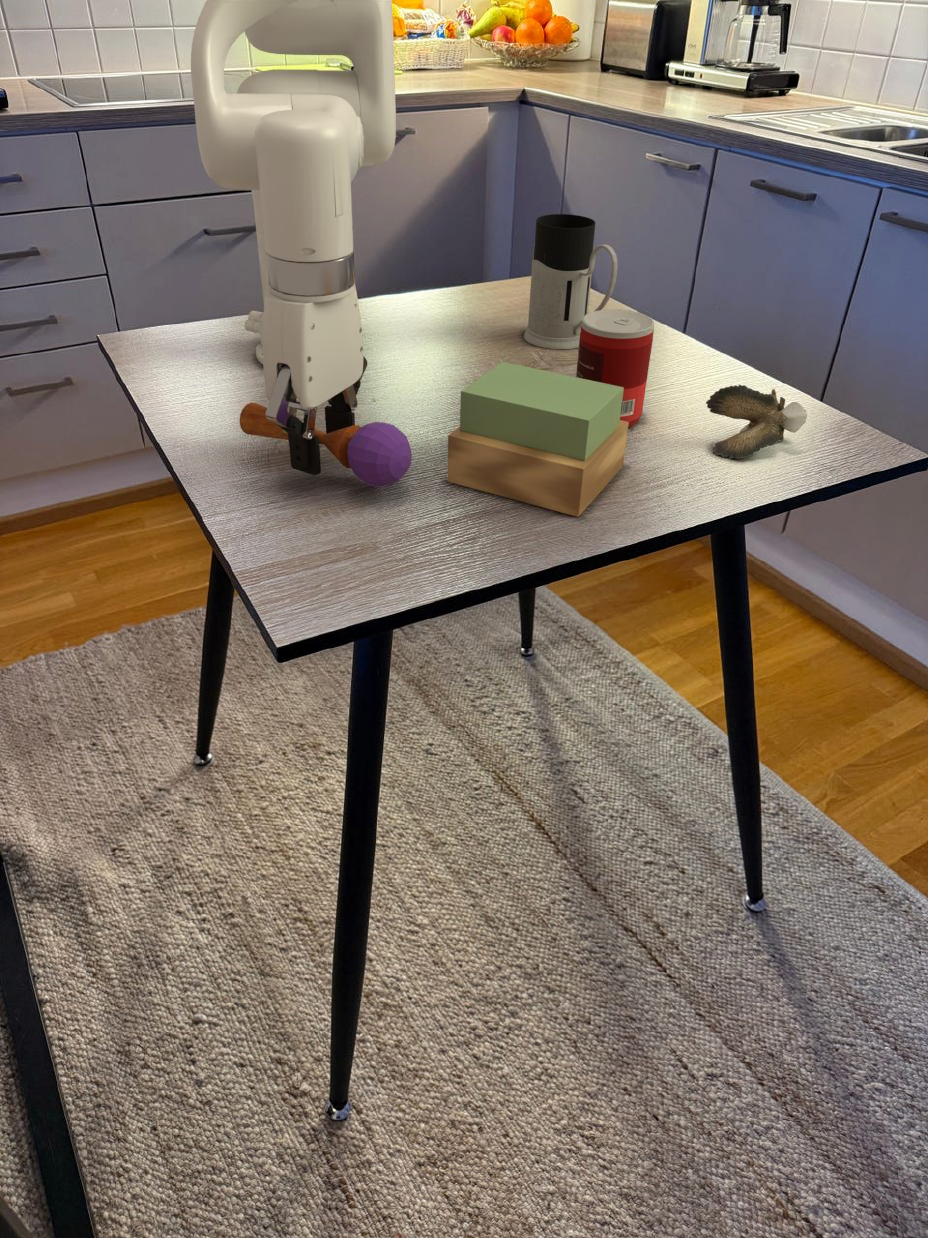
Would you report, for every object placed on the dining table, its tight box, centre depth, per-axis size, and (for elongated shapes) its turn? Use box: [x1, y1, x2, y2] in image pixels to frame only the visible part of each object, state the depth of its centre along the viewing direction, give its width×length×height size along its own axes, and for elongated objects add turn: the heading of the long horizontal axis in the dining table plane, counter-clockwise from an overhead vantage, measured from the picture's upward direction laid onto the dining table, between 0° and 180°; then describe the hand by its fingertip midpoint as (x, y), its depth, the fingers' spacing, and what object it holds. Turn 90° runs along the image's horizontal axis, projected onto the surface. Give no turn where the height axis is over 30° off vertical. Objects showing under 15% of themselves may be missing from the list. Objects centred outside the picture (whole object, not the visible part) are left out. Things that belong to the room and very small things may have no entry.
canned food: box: [575, 308, 655, 428], centre depth 103 cm, size 8×8×11 cm
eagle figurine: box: [705, 384, 808, 459], centre depth 99 cm, size 8×7×9 cm
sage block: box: [459, 361, 624, 461], centre depth 90 cm, size 13×9×4 cm
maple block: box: [446, 420, 629, 518], centre depth 93 cm, size 14×12×5 cm
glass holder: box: [523, 213, 619, 350], centre depth 121 cm, size 9×14×15 cm, turn 36°
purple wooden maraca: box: [239, 401, 413, 488], centre depth 92 cm, size 6×6×20 cm
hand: (324, 456), depth 93 cm, fingers closed on purple wooden maraca, 5 cm apart
